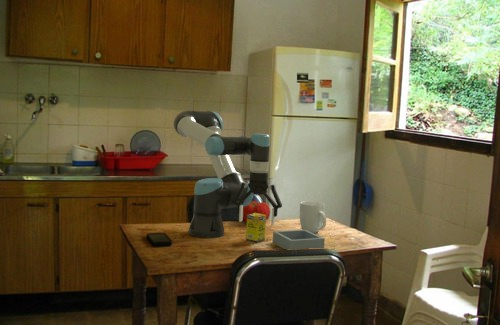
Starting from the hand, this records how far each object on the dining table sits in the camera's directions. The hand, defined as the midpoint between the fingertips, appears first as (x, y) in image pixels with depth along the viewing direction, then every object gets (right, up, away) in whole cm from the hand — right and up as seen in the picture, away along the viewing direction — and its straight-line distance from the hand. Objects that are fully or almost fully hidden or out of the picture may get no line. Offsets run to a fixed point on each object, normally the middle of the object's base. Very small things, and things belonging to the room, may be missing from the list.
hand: (256, 222), depth 227 cm
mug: (+25, -7, +21) cm, 34 cm away
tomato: (-1, -4, +35) cm, 35 cm away
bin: (+17, -9, -4) cm, 19 cm away
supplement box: (-1, -8, +1) cm, 8 cm away
